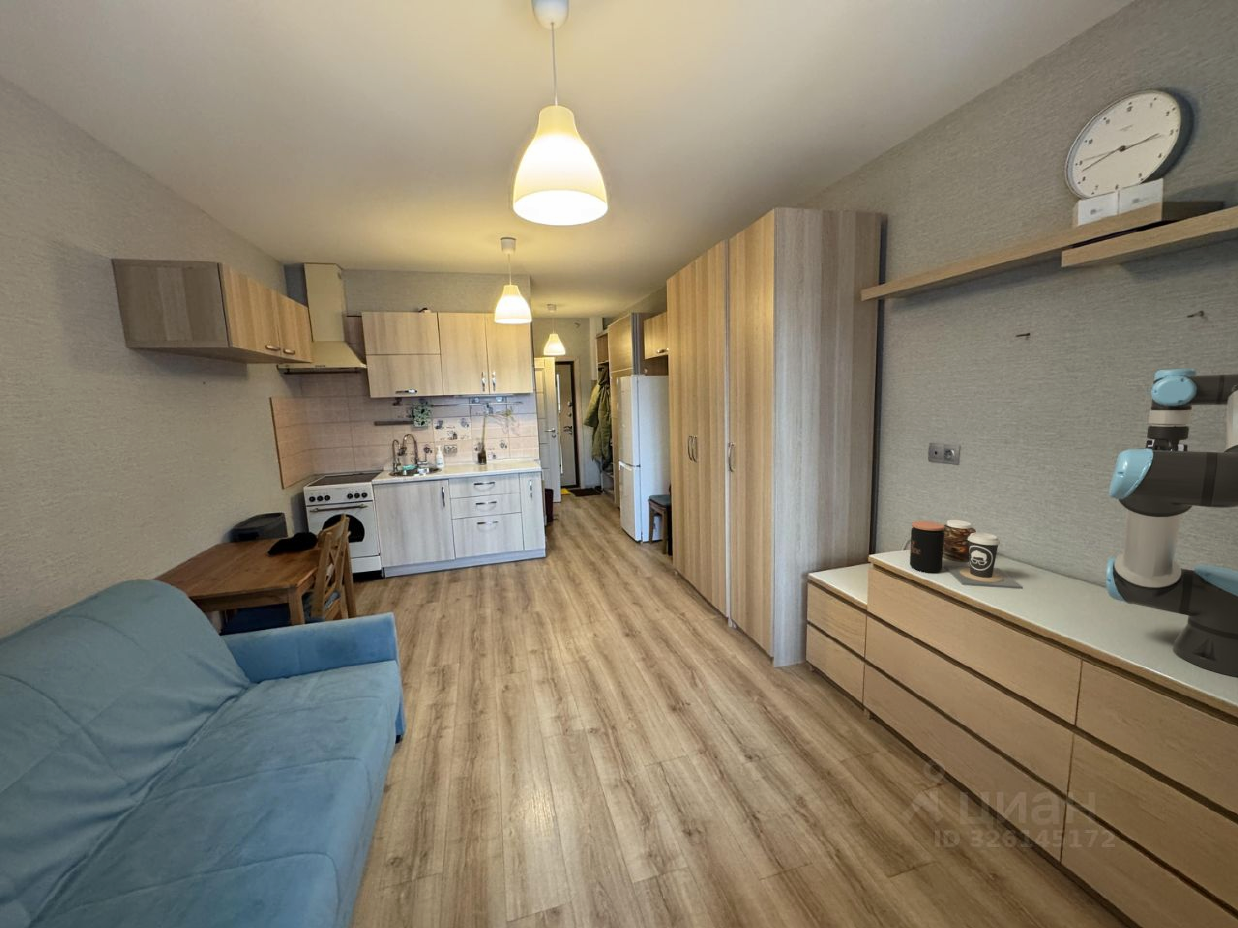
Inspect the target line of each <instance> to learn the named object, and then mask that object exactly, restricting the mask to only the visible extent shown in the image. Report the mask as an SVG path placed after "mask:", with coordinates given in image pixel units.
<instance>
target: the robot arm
mask: <svg viewBox="0 0 1238 928" xmlns="http://www.w3.org/2000/svg"><path fill="white" fill-rule="evenodd" d="M1152 383H1153V384H1152V387H1151V388H1150V396H1151V404H1150V405H1151V406H1150V409H1149V415H1148V416H1149V417H1148V424H1150V425H1149V426H1148V427H1147V434H1146V438H1147V439H1148V440H1146V443H1145V447H1144V448H1143V449H1141V448H1137V449H1135V448H1132V449H1131V448H1130V449H1125V450H1123V451H1121V452H1120V453H1119V455H1118V457H1117V460H1116V462H1115V465H1114V471H1113V473H1112V477H1111V480H1110V481H1111V482H1110V485H1109V491H1108V496H1109V497H1111V498H1114V499H1116V500H1118V502H1119V504H1120V505H1121V506H1122V507H1123V508H1124V509H1126V512H1125V525H1124V526H1125V527H1124V540H1123V541H1124V542H1123V552H1121V553H1120V554H1119V555H1117V557H1111V558H1109V559H1108V561H1107V564H1106V571H1105V578H1106V579H1105V581H1106V582H1105V585H1106V591H1107V593H1108V595H1109V597H1111V599H1113V600H1116V601H1119V602H1122V603H1123V602H1124V603H1125V604H1129V605H1136V606H1141V607H1145V608H1151V609H1155V610H1160V611H1166V612H1171V613H1175V614H1179V615H1185V616H1188V617H1187V623H1186V625H1185V627H1184V628H1182V630H1181V632H1180V633H1179V634H1178V636H1177V637H1176V638H1175V640H1174V641H1173V646H1172V652H1173V653H1174V654H1175V655H1176V656H1178V658H1181V659H1182V660H1184V661H1185V662H1188V663H1190V664H1192V665H1194V666H1198V667H1200V668H1203V669H1205V670H1209V671H1212V672H1215V673H1219V674H1222V675H1227V676H1232V677H1237V678H1238V570H1234V569H1230V568H1225V567H1220V566H1216V565H1206V564H1199V565H1196V566H1195V567H1193V569H1188V568H1181V567H1180V565H1179V564H1178V562H1177V561H1176V560H1175V555H1176V550H1177V543H1178V536H1179V531H1180V524H1181V518H1182V515H1184V514H1186V513H1187V512H1189V511H1190V510H1192V508H1193V507H1195V506H1196V507H1204V508H1205V507H1206V508H1215V509H1216V508H1217V509H1219V508H1220V509H1228V508H1229V509H1230V508H1238V373H1236V374H1235V373H1234V374H1233V373H1232V374H1214V375H1213V374H1210V375H1209V374H1208V375H1197V370H1195V369H1194V368H1178V369H1176V368H1175V369H1161V370H1157V371H1156V372H1155V374H1154V378H1153V380H1152ZM1192 406H1227V407H1226V442H1225V443H1226V444H1225V445H1226V448H1225V449H1224V450H1223V451H1222V452H1219V451H1218V452H1216V451H1215V452H1214V451H1188V449H1189V448H1188V447H1189V446H1188V445H1187V444H1180V441H1184V440H1187V439H1188V438H1189V432H1190V427H1189V426H1187V425H1189V424H1190V423H1191V417H1193V416H1194V415H1193V414H1194V413H1193V412H1192V408H1193V407H1192Z"/></svg>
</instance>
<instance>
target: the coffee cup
mask: <svg viewBox="0 0 1238 928" xmlns="http://www.w3.org/2000/svg"><path fill="white" fill-rule="evenodd" d="M968 541H969V553H970V562H969V567H970V573H971V574H972V575H974V576H977V577H982V578H991V577H992V575H993V570H994V568H995V565H996V564H995V563H996V559H997V554H998V549H999V545H1001V541H1000V539H999V537H998V536H996V535H995V534H991V533H985V532H976V533H971V534H970V536H969V537H968Z"/></svg>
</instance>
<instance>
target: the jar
mask: <svg viewBox="0 0 1238 928" xmlns="http://www.w3.org/2000/svg"><path fill="white" fill-rule="evenodd" d="M943 525H944V529H943V531H944V544H943V559H946V560H949V561H954V562H960V563H970V553H969V541H968V537H969V536H970V534H971V533H977V530H976V528H974V527H972V523H971V522H969V521H965V520H961V519H949V520H946V524H943Z"/></svg>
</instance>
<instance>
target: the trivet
mask: <svg viewBox="0 0 1238 928" xmlns="http://www.w3.org/2000/svg"><path fill="white" fill-rule="evenodd" d="M943 568H944V569H945V570H946V571H947V572H949V574H950V575H952V577H954V578H955V579H956V581H958V582H959V583H960V584H961V585H963V586H975V587H991V588H1003V589H1007V588H1008V589H1018V590H1020V589H1023V590H1024V586H1023V585H1022V584H1020V583H1019V582H1017V581H1016V580H1014V579H1013V578H1012V577H1010V575H1008V574H1007V573H1005V571H1002V570H1001V569H1000V568H998V567H994V570H993V575H992V577H991V578H982V577H977V576H974V575H972V574H971V573H970V566H966V565H964V566H963V565H949V564H947V565H946V564H944V565H943Z"/></svg>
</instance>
